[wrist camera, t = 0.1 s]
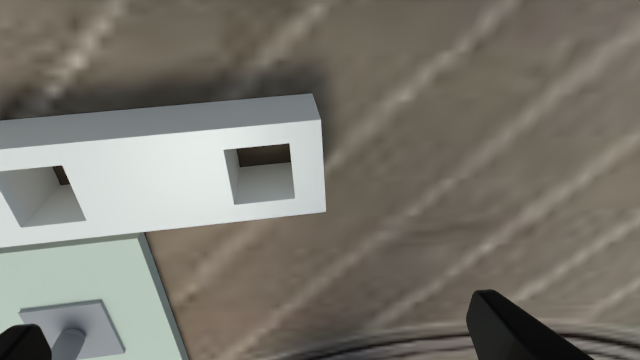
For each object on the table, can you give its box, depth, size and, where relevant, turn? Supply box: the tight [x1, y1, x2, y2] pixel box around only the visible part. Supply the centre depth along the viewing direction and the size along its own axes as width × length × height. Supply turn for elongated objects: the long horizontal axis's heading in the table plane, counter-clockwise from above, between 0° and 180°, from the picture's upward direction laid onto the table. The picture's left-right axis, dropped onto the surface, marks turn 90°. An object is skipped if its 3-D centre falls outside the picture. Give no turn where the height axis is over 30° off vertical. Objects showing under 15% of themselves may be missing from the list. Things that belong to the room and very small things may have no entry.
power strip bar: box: [0, 93, 326, 248], centre depth 20 cm, size 5×16×4 cm, turn 93°
